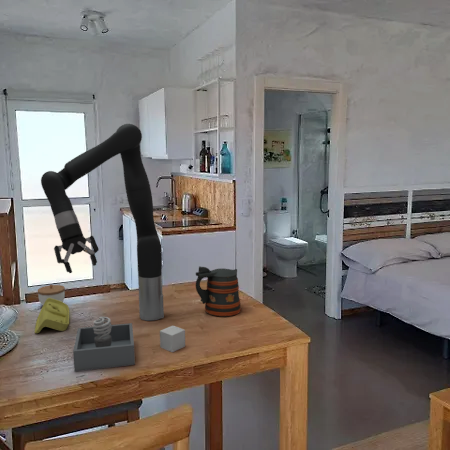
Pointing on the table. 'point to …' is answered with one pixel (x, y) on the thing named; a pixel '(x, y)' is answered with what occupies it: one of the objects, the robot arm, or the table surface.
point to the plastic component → (53, 316)
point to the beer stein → (219, 291)
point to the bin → (104, 348)
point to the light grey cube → (172, 338)
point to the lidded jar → (51, 293)
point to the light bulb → (102, 332)
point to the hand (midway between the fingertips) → (83, 269)
